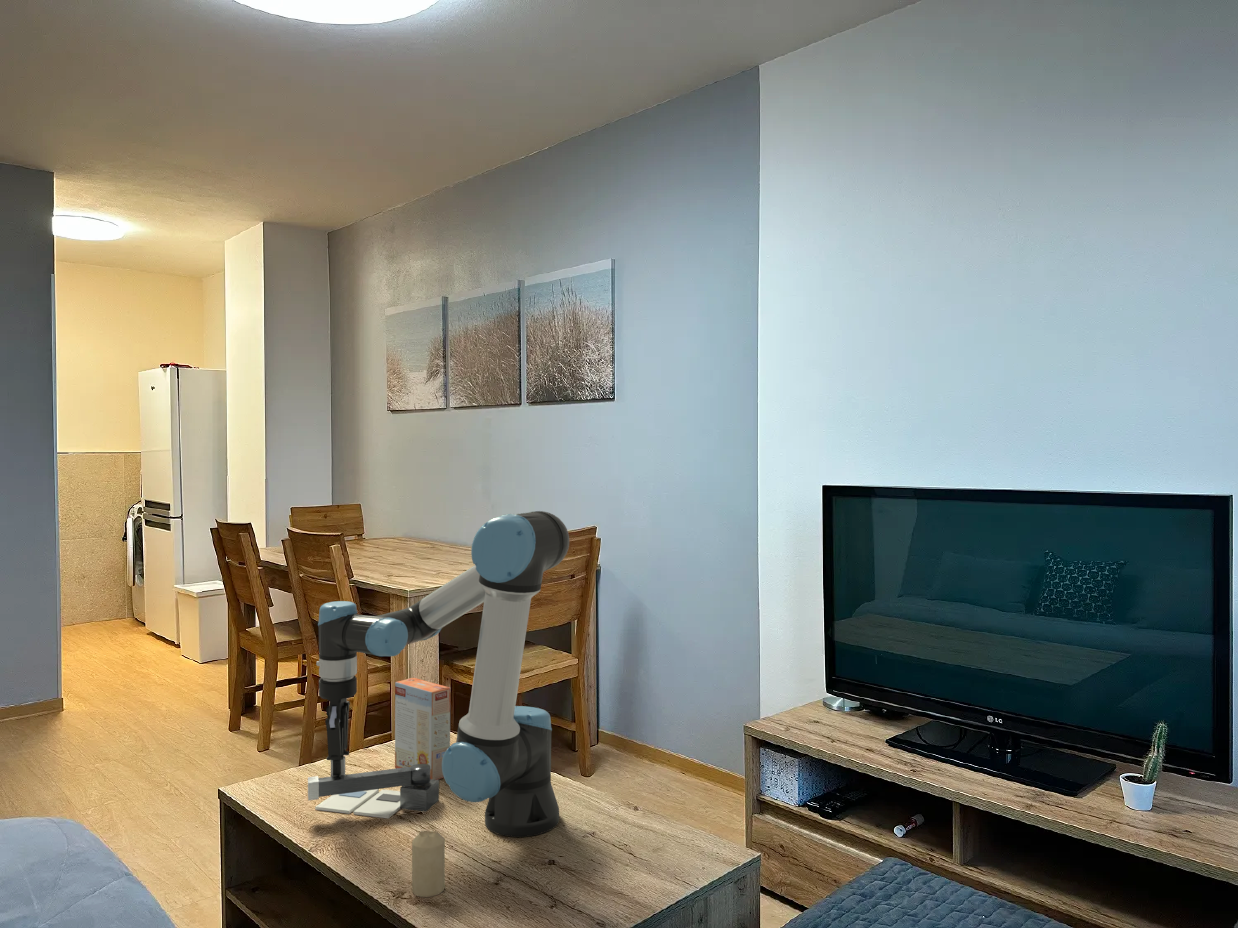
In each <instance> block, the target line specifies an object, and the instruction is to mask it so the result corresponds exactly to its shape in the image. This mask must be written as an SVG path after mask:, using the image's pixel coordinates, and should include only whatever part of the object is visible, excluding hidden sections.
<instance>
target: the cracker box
mask: <svg viewBox="0 0 1238 928" xmlns="http://www.w3.org/2000/svg"><path fill="white" fill-rule="evenodd" d="M394 690H395V691H394V693H395V695H394V700H395V702H394V704H395V705H394V709H395V710H394V769H396V768H404V767H411V766H412V765H416V764H428V765H430V779H434V780H439V781H440V779H444V776H443V772H442V758H443V755H444V753H445V751H446V750H447V749H448V748H449V747H450V746H451V687H449V686H445V685H442V684H439V683H435V682H431V681H427V680H424V679H420V678H417V677H409V678H406V679H402V680H398V681H395V685H394Z"/></svg>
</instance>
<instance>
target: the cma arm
mask: <svg viewBox="0 0 1238 928" xmlns="http://www.w3.org/2000/svg"><path fill="white" fill-rule="evenodd" d="M429 782H430V765H428V764H416V765H412V766H411V767H404V768H390V769H380V770H374V771H373V770H371V771H365V772H357V773H351V774H350V773H349V774H345V775H340V776H332V777H331V776H326V777H325V776H324V777H319V776H318V775H316V776H308V777H307V799H308V801H315V800H319V799H320V797H321V798H322V797H330V796H332V795H337V794H345V793H353V792H360V791H368V790H375V789H379V790H380V789H381V790H383V789H388V788H396V787H397V788H398V787H402V786H406V785H425V784H428V783H429Z"/></svg>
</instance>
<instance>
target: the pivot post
mask: <svg viewBox="0 0 1238 928" xmlns="http://www.w3.org/2000/svg"><path fill="white" fill-rule="evenodd" d="M399 791H400V809H399V810H408V811H416V812H423V813H427V812H428V811H430V809H431V808H432V807H434V806H435V805H436V804H437V803H438V802H439V801H440V779H439V780H434V779H430V782H429V783H428V784H425V785H406V786H399Z"/></svg>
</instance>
